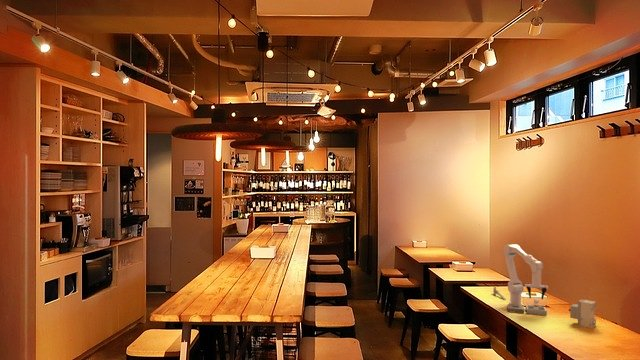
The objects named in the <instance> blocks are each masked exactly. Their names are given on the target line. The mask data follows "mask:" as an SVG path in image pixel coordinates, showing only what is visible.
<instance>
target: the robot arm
mask: <svg viewBox="0 0 640 360" xmlns="http://www.w3.org/2000/svg"><path fill="white" fill-rule="evenodd" d="M502 249H503V253H504V259H505V263H506V264H505V265H506V267H507V271H508V272H507V273H508V276H509V281H508V282H507V290H508V292H509V295H510V296H509V297H510V299H509V301H510V302H508V304H512V305H522V294H523V293H524V290H525V289H527V293H528V296H529V297H528V298H529V299H531V298H532V294H531V293H532V289H541V300H544V296H545V294H546V292H547V290H549V286H548V285H543V284H542V269H544V263H543V261H542V260H537V259H536V258H535V257H534V256H533V255H532V254H527V253H526V252H525V251H524V250H523V249H522V248H521V246H520V245H519V244H517V243H515V244H505V245H504V246H503V248H502ZM517 255H519V256H520V257H521V258H522V259H523V261H524V262H525V263H526V264H528V265H529V267H530V269H531V283H529V284H528V283H525V284H524V285H523V283H522V281H521V280H520V279H519V277H518V274H517V273H518V272H517V270H516V265H515V261H514V257H515V256H517ZM524 288H525V289H524Z"/></svg>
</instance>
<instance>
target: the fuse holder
mask: <svg viewBox="0 0 640 360" xmlns="http://www.w3.org/2000/svg"><path fill="white" fill-rule="evenodd" d="M507 310H508V313H518V314H519V313H520V314H525V308H524V306H523V305H522V304H521V305H512V304H509V303H508V304H507Z"/></svg>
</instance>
